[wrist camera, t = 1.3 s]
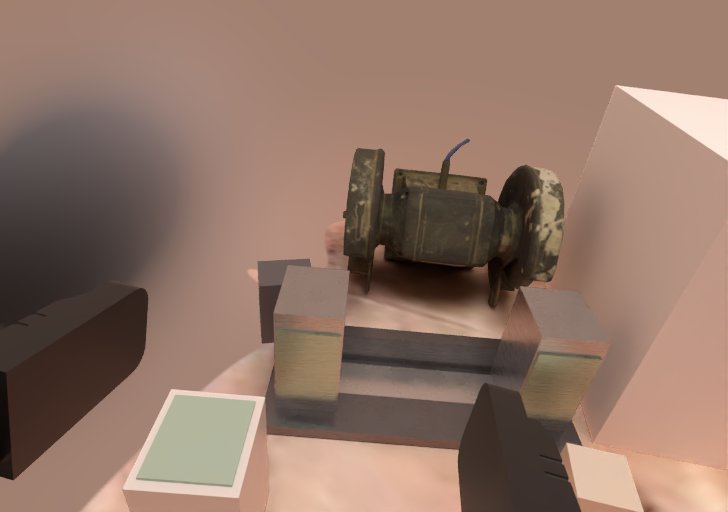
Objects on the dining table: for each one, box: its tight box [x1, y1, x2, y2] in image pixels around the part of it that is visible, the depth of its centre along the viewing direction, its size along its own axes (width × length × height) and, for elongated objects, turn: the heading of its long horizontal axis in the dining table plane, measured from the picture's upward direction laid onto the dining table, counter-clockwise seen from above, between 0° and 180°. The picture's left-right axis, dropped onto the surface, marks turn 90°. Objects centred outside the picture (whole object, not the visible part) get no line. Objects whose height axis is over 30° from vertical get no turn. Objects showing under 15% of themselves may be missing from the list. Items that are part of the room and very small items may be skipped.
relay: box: [258, 259, 311, 343], centre depth 44 cm, size 5×4×7 cm
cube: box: [545, 85, 728, 470], centre depth 41 cm, size 25×21×24 cm
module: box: [122, 389, 269, 512], centre depth 26 cm, size 6×6×10 cm
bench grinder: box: [343, 139, 564, 306], centre depth 52 cm, size 20×22×20 cm
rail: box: [265, 265, 612, 453], centre depth 37 cm, size 26×9×11 cm, turn 88°
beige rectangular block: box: [560, 443, 644, 512], centre depth 31 cm, size 4×4×5 cm
